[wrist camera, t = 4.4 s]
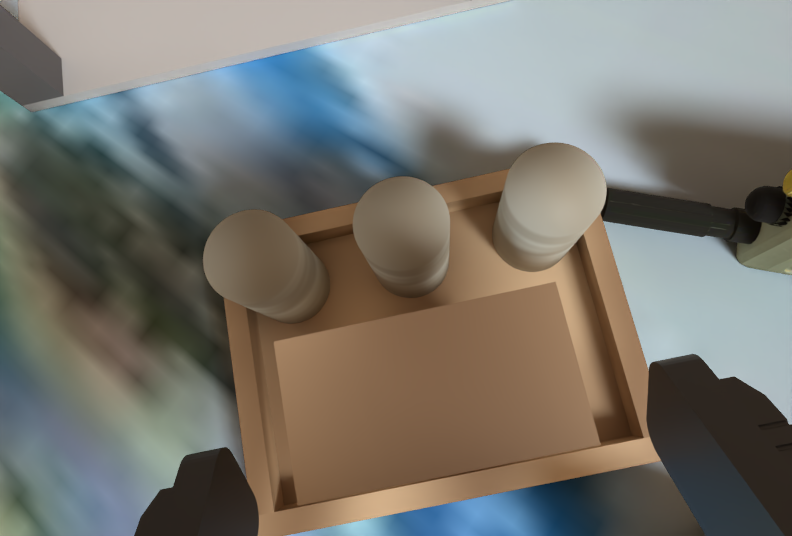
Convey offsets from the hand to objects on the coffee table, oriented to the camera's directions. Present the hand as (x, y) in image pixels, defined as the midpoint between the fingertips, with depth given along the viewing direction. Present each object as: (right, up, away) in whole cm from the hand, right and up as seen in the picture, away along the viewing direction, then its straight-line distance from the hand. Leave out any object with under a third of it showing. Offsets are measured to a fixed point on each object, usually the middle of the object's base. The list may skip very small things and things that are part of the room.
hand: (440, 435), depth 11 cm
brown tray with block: (0, 0, +12) cm, 12 cm away
